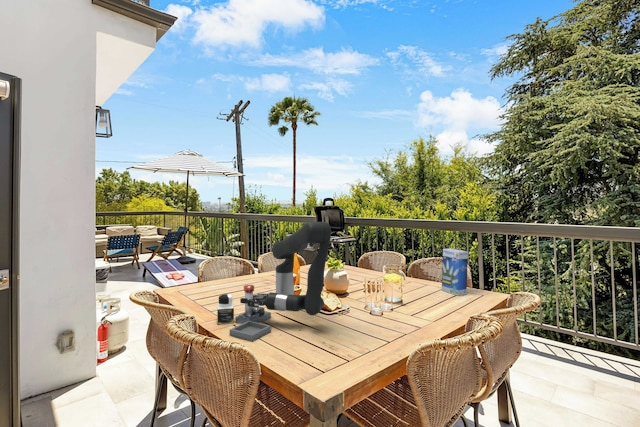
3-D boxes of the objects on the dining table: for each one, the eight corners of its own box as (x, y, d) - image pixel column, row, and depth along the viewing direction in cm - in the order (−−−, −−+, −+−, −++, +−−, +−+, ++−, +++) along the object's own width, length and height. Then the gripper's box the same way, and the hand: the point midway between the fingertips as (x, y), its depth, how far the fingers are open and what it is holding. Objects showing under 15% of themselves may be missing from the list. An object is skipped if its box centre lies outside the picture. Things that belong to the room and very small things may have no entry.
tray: (249, 326, 153) (249, 320, 153) (270, 331, 147) (270, 325, 147) (229, 335, 143) (229, 329, 143) (252, 341, 137) (252, 335, 137)
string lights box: (441, 290, 214) (442, 248, 213) (450, 289, 217) (451, 248, 216) (457, 296, 202) (459, 252, 201) (467, 294, 205) (468, 251, 204)
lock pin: (248, 314, 161) (248, 284, 161) (256, 315, 159) (256, 285, 158) (241, 317, 157) (241, 286, 157) (249, 318, 155) (249, 287, 154)
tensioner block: (254, 313, 169) (254, 304, 169) (270, 317, 164) (270, 307, 164) (235, 322, 158) (235, 311, 158) (252, 326, 153) (252, 315, 153)
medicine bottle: (217, 324, 155) (217, 297, 154) (217, 319, 162) (217, 293, 161) (233, 323, 157) (233, 296, 156) (233, 317, 164) (233, 292, 163)
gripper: (284, 289, 161) (250, 286, 165) (272, 297, 147) (235, 294, 151) (284, 305, 161) (250, 302, 166) (272, 315, 148) (236, 311, 152)
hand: (243, 298), depth 159 cm, fingers open, 5 cm apart
